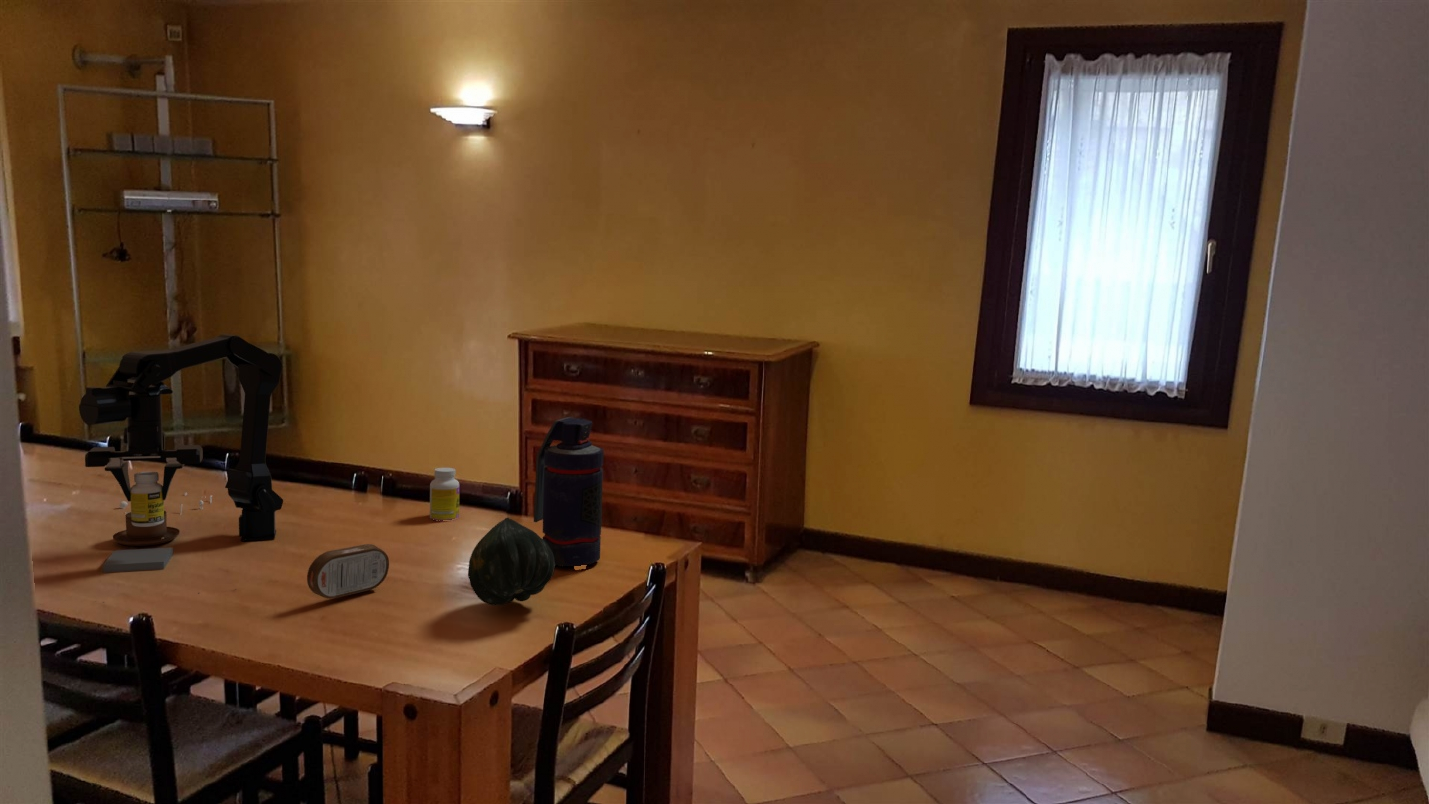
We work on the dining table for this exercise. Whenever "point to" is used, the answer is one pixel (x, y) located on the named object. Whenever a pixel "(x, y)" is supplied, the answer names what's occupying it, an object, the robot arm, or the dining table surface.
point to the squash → (510, 564)
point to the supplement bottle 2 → (444, 495)
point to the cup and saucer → (145, 533)
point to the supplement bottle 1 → (147, 500)
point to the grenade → (570, 492)
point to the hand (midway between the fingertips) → (147, 500)
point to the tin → (348, 571)
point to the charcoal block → (138, 560)
